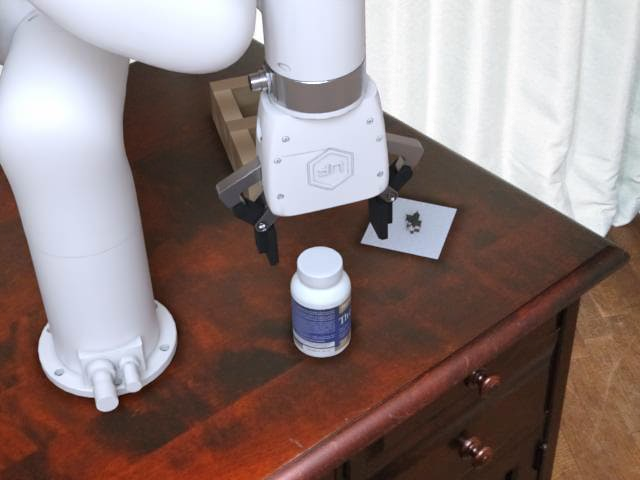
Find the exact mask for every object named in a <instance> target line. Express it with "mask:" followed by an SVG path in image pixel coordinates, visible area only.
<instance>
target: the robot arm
mask: <svg viewBox="0 0 640 480" xmlns="http://www.w3.org/2000/svg"><path fill="white" fill-rule="evenodd" d="M257 10H258V11H259V12H260V14H261V23H262V24H261V26H262V34H263V48H264V55H263V56H262V61H263V64H262V65H261V69H260V70H259V69H258V70H256V72H253V73H248V74H247V75H248V83H249V87H250V90H251V92H253V91H258V90H261V94H260V99H259V106H258V114H257V125H256V158H255V159H253V160H252V161H250V162H249V163H247V164H246V165H244V166H243V167H241V168H240V169H238V170H237V171H235V172H234V171H233V172H232V173H231V174H229V175H228V176H226V177H225V178H222V180H221V181H218V182H217V183H216V185H215V190H216V194H217V197H218V198H219V200H220V201H221V202H222V203H223V204H224V206H226V207H227V209H229V211H231V212H232V214H233V215H234V217H235V218H237V219H239V220H240V221H243V222H245V223H247V224H249V225H251V226H253V231H254V240H255V245H256V249H257V252H258V254H259V255H263V254H265V255H266V258H267V260H268V262H269V265H270V267H275V266H278V264H280V255H279V244H278V243H279V242H278V233H277V229H276V227H275V224H274V222H275V221H276V220H277V218H279V217H294V216H299V215H304V214H309V213H313V212H318V211H322V210H327V209H331V208H336V207H340V206H343V205H349V204H352V203H356V202H361V201H366V200H367V202H368V203H367V205H368V206H367V207H368V213H367V214H368V221H369V224H370V223H371V225H372V227H373V229H374V231H375V232H376V234H377V236H378V238H379V239H381V240H385V239H388V224H391V223H392V222H393V202H394V201H395V200H396V199H397V198H399V193H398V192H400V190H401V189H402V188H403V187H404V186H405V185H406V184H407V183H408V182H409V181H410V180H411V179H412V178H413V176H414V169H415V168H417V166H418V165H419V163H420V161H421V158H422V157H423V155H424V153H425V149H424V147H423V145H422V144H421V142H420V141H419V139H417V138H413V137H409V136H404V135H400V134H396V133H395V134H394V133H390V132H386V125H385V119H384V117H385V116H384V111H383V106H382V101H381V97H380V93H379V89H378V86H377V83H376V82H375V81H374V80H373V79H372V78H371V76H370V75H369V74H368V73H367V44H366V42H367V34H366V33H367V30H366V0H0V66H2V68H1V71H0V166H1V168H2V171H3V172H4V174H5V176H6V179H7V180H8V183H9V185H10V188H11V191H12V194H13V197H14V200H15V202H16V207H17V210H18V214H19V217H20V219H21V220H20V221H21V224H22V227H23V232H24V235H25V238H26V241H27V246H28V249H29V253H30V257H31V261H32V265H33V268H34V272H35V276H36V280H37V285H38V289H39V292H40V295H41V300H42V303H43V307H44V311H45V315H46V319H47V322H46V325H44V327H43V329H42V331H41V334H40V337H39V340H38V348H37V352H38V359H39V363H40V365H41V368H42V371H43V372H44V374H45V376H46V377H47V379H48V380H49V381H50V382H51V383H53V384H54V385H55V386H56V387H58V389H59V388H60V389H61V390H63V391H64V392H66V393H69V394H72V395H75V396H79V397H84V398H89V399H90V398H93V399H94V402H95V407H96V409H97V410H98V411H100V412H103V413H107V412H111V411H113V410H115V409H116V408H117V407H118V406H119V396H122V395H125V394H129V393H137V392H139V391H140V390H141V389H142V388H143V387H145V386H146V385H148V384H149V383H151V382H154V381H155V380H156V379H157V378H158V377H159V376H160V375H161V374H162V373H164V371H166V369H167V368H168V367H169V365H170V364H171V362H172V360H173V358H174V356H175V355H176V352H177V351H176V350H177V347H178V332H177V326H176V322H175V320H174V317H173V315H172V314H171V313H170V311H169V310H168V308H167V307H166V306H164V305H163V304H162V303H161V302H160V301H158V300H157V299H155V296H154V291H153V283H152V278H151V272H150V266H149V259H148V254H147V248H146V243H145V242H146V241H145V235H144V230H143V225H142V224H143V223H142V217H141V212H140V207H139V202H138V195H137V190H136V185H135V181H134V175H133V172H132V169H131V166H130V165H131V164H130V163H129V159H128V156H127V154H126V153H127V152H126V148H125V147H126V146H125V141H124V140H125V139H124V109H125V102H126V96H127V83H128V77H129V71H130V70H129V69H130V64H131V60H133V61H136V62H138V63H142V64H145V65H147V66H152V67H155V68H159V69H162V70H166V71H170V72H175V73H181V74H186V75H205V74H211V73H217V72H219V71H223V70H225V69H227V68H229V67H230V66H232V65H234V64H235V63H237V62H238V61H239V60H240V59H241V58H242V57H244V55H245V53H246V52H247V50H248V49H249V47H250V45H251V43H252V40H253V38H254V34H255V30H256V24H257V23H256V22H257ZM389 155H394V156H398V158H396V159H395V160H394V161H393V162H392V163H391V164H389V163H390V161H389ZM257 182H259V183H260V185H261V186H262V187H261V188H260V189H259V191H258V192H257V193H256V194H255V196H254V197H253V198H252V200H250V199H248V198H246V197H244V195H242V194H243V193H242V192H243V191H245V190H246V189H248V188H249V187H251V186H252V185H254V184H256V183H257ZM266 205H267V206H266Z"/></svg>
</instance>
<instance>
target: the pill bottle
mask: <svg viewBox="0 0 640 480" xmlns="http://www.w3.org/2000/svg"><path fill="white" fill-rule="evenodd" d="M290 304H291V323H292V324H291V325H292V337H293V342H294V344H295V346H296V347H297V349H298V350H299V351H301V352H302V353H303V354H305V355H307V356H310V357H314V358H330V357H333V356H336V355H338V354H340V353H342V352H343V351H344V350H345V349H346V348H347V347H348V345H349V344H350V341H351V336H352V283H351V279H350V277H349V275H348V273H347V272H346V270H344V262H343V258H342V255H341V254H340V253H339V252H338V251H336V250H335V249H333V248H330V247H328V246H313V247H310V248H307V249H305V250H303V251H302V252H301V253H300V254H299V256H298V258H297V260H296V272H294V274H293V275H292V278H291V280H290Z"/></svg>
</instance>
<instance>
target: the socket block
mask: <svg viewBox="0 0 640 480" xmlns="http://www.w3.org/2000/svg"><path fill="white" fill-rule="evenodd" d="M208 85H209V95H210V105H211V115H212V120H213V123H214V125H215V127H216V130H217V133H218V135H219V138H220V141H221V143H222V145H223V148H224V150H225V153H226V155H227V159H228V160H229V162H230V165H231V167H232V170H233V173H234V172H235V171H237V170H238V169H240V168H241V167H243V166H244V165H246V164H247V163H249V162H250V161H252V160H253V159H255V158H256V125H257V114H258V106H259V99H260V94H261V90H258V91H253V92H251V90H250V87H249V83H248V74H246V75H242V76H236V77H231V78H224V79H220V80H215V81H214V80H213V81H210V82H208ZM261 187H262V186H261V185H260V183H259V182H257V183H256V184H254V185H252V186H251V187H249V188H248V189H246V190H245V191H243V192H242V193H241V194H243V195H242V196H244V197H246V198H248V199H250V200H252V198H253V197H254V196H255V194H256V193H257V192H258V191H259V189H260V188H261ZM266 206H267V205H266Z"/></svg>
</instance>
